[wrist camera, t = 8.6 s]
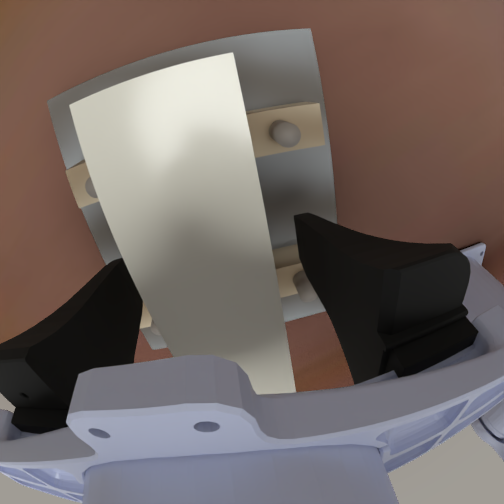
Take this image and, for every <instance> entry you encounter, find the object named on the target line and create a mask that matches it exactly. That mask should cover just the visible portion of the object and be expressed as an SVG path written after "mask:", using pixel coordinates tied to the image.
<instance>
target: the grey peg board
mask: <svg viewBox="0 0 504 504" xmlns="http://www.w3.org/2000/svg"><path fill="white" fill-rule="evenodd" d="M232 52H233V55H234V59H235V64H236V68H237V73H238V78H239V83H240V87H241V92H242V97H243V102H244V107H245V111H246V116H247V121H248V126H249V131H250V136H251V141H252V146H253V151H254V156H255V161H256V166H257V172H258V177H259V182H260V187H261V192H262V198H263V203H264V208H265V214H266V219H267V224H268V230H269V235H270V241H271V246H272V252H273V258H274V263H275V269H276V275H277V280H278V286H279V292H280V298H281V304H282V309H283V315H284V321H285V322H286V321H290V320H294V319H298V318H302V317H305V316H309V315H313V314H316V313H320V312H324V311H326V310H325V308H324V306H323V304H322V303H321V301H320V299H319V297H318V296H317V294H316V292H315V290H314V289H313V287H312V285H311V283H310V282H309V280H308V278H307V276H306V274H305V271H304V269H303V266H302V264H301V261H300V259H299V253H298V245H297V238H296V230H295V223H294V215H298V214H303V213H307V212H308V213H312V214H314V215H317V216H319V217H321V218H324V219H326V220H328V221H331V222H333V223H335V224H337V215H336V201H335V189H334V178H333V168H332V158H331V149H330V141H329V133H328V125H327V118H326V111H325V104H324V98H323V91H322V85H321V80H320V74H319V68H318V63H317V58H316V53H315V48H314V43H313V38H312V33H311V29H292V30H280V31H270V32H261V33H253V34H246V35H240V36H234V37H228V38H223V39H218V40H213V41H208V42H203V43H199V44H195V45H190V46H186V47H183V48H179V49H175V50H171V51H168V52H164V53H161V54H158V55H155V56H151V57H148V58H145V59H142V60H139V61H136V62H133V63H131V64H128V65H125V66H122V67H120V68H117V69H115V70H112V71H110V72H107V73H105V74H102V75H100V76H97V77H95V78H93V79H91V80H88V81H86V82H84V83H82V84H80V85H77V86H75V87H73V88H71V89H69V90H67V91H65V92H63V93H61V94H59V95H57V96H55V97H54V98H52V99H50V100H48V101H47V103H48V107H49V111H50V115H51V119H52V123H53V126H54V130H55V133H56V137H57V140H58V144H59V147H60V150H61V153H62V156H63V160H64V163H65V166H66V169H67V170H66V171H65V172H66V175H67V178H68V180H69V183H70V186H71V189H72V191H73V194H74V197H75V199H76V202H77V204H78V207H79V208H81V209H82V212H83V214H84V216H85V219H86V221H87V224H88V226H89V228H90V231H91V233H92V235H93V238H94V240H95V242H96V244H97V246H98V249H99V251H100V253H101V255H102V257H103V259H104V261H105V264H106V265H107V264H108V263H110V262H111V261H113V260H116V259H119V258H122V255H121V253H120V251H119V248H118V246H117V244H116V242H115V239H114V237H113V234H112V232H111V230H110V227H109V225H108V222H107V220H106V217H105V215H104V212H103V210H102V207H101V204H100V202H99V199H98V196H97V194H96V191H95V188H94V185H93V182H92V180H91V177H90V174H89V171H88V168H87V165H86V162H85V159H84V155H83V152H82V149H81V146H80V142H79V139H78V136H77V132H76V129H75V125H74V121H73V118H72V114H71V110H70V106H69V105H70V104H72V103H74V102H77V101H79V100H81V99H83V98H85V97H88V96H90V95H92V94H95V93H97V92H99V91H102V90H104V89H107V88H109V87H112V86H114V85H117V84H120V83H122V82H125V81H128V80H130V79H133V78H136V77H139V76H142V75H145V74H148V73H151V72H155V71H158V70H161V69H164V68H168V67H171V66H175V65H179V64H182V63H186V62H190V61H194V60H199V59H203V58H207V57H212V56H217V55H222V54H227V53H232ZM140 329H141V331H142V333H143V334H144V336H145V338H146V339H147V341H148V343H149V344H150V346H151V348H152V349H153V350H154V349H160V348H166V347H168V346H167V345H166V343H165V341H164V339H163V338H162V336H161V334H160V332H159V330H158V328H157V327H156V325H155V323H154V321H153V319H152V317H151V315H150V313H149V311H148V310H147V308H146V306H145V304H144V302H143V310H142V318H141V323H140Z"/></svg>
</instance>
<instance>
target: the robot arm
mask: <svg viewBox="0 0 504 504" xmlns="http://www.w3.org/2000/svg"><path fill="white" fill-rule="evenodd" d="M294 223H295V230H296V238H297V245H298V253H299V259H300V261H301V264H302V266H303V269H304V271H305V274H306V276H307V278H308V280H309V282H310V283H311V285H312V287H313V289H314V290H315V292H316V294H317V296H318V297H319V299H320V301H321V303H322V304H323V306H324V308H325V310H326V311H327V313H328V315H329V317H330V319H331V321H332V324H333V326H334V328H335V331H336V333H337V336H338V338H339V341H340V344H341V346H342V349H343V352H344V354H345V357H346V360H347V363H348V366H349V369H350V372H351V375H352V378H353V381H354V384H355V385H353V386H349V387H342V388H334V389H325V390H316V391H306V392H294V393H279V394H258V395H257V394H256V393H255V391H254V390H253V387H252V385H251V382H250V379H249V377H248V375H247V374H246V373H245V371H244V370H243V369H242V368H241V367H240V366H239V365H238V364H237V363H236V362H233V361H230V360H227V359H224V358H221V357H218V356H215V355H184V356H179V357H173V358H167V359H161V360H154V361H148V362H141V363H134V355H135V350H136V344H137V339H138V334H139V329H140V323H141V318H142V310H143V300H142V298H141V296H140V294H139V292H138V290H137V288H136V286H135V283H134V281H133V279H132V277H131V275H130V273H129V271H128V269H127V266H126V264H125V262H124V260H123V258H119V259H116V260H113V261H111V262H110V263H108V264H107V265H106V266H105V267H104V268H103V269H101V270H100V271H99V272H98V273H97V274H96V275H95V276H94V277H93V278H92V279H91V280H90V281H89V282H88V283H87V284H86V285H85V286H84V287H82V288H81V289H80V290H79V291H78V292H77V293H76V294H75V295H74V296H73V297H72V298H71V299H69V300H68V301H67V302H66V303H65V304H64V305H62V306H61V307H60V308H59V309H57V310H56V311H55V312H54V313H52V314H51V315H50V316H48V317H47V318H45V319H44V320H42V321H41V322H39V323H38V324H37V325H35V326H33V327H32V328H30V329H28V330H27V331H25V332H23V333H21V334H20V335H18V336H16V337H14V338H12V339H10V340H8V341H6V342H3V343H1V344H0V393H1V394H2V395H3V396H4V397H5V398H6V399H7V400H8V401H9V402H11V403H12V404H13V405H14V406H15V407H16V408H15V411H14V413H12V412H10V411H8V410H2V409H0V472H1V473H3V474H4V475H6V476H7V477H9V478H11V479H12V480H14V481H16V482H18V483H19V484H21V485H23V486H26V487H29V488H33V489H35V490H39V491H42V492H45V493H48V494H51V495H55V496H58V497H61V498H64V499H68V500H72V501H75V502H79V503H82V504H399V502H398V500H397V497H396V494H395V492H394V489H393V487H392V484H391V482H390V479H389V476H388V474H387V473H389V472H391V471H393V470H395V469H397V468H399V467H401V466H403V465H405V464H407V463H409V462H411V461H413V460H414V459H416V458H418V457H420V456H422V455H423V454H425V453H427V452H429V451H430V450H432V449H433V448H435V447H437V446H438V445H440V444H442V443H443V442H445V441H446V440H448V439H449V438H451V437H452V436H454V435H455V434H457V433H458V432H460V431H461V430H463V429H464V428H466V427H467V426H468V425H470V424H471V426H472V427H473V429H474V431H475V432H476V434H477V435H478V436H479V437H480V438H481V439H482V440H483V441H484V442H486V443H488V444H489V445H490V446H491V447H492V448H493V449H494V450H495V451H496V452H497V453H498V455H499V456H500V457H501V458H502V459H503V461H504V286H503V285H502V284H501V283H500V282H499V281H498V280H497V279H496V278H495V277H493V276H492V275H491V274H490V273H489V272H488V271H487V270H486V269H485V268H484V267H482V266H481V265H482V261H483V257H484V253H485V249H486V245H485V244H484V243H479V244H476V245H474V246H471V247H468V248H466V249H463V250H460V251H459V250H458V249H457V248H456V247H455V246H454V245H452V244H451V243H447V244H423V243H409V242H400V241H394V240H388V239H383V238H378V237H374V236H370V235H367V234H363V233H360V232H357V231H354V230H351V229H348V228H345V227H343V226H340V225H338V224H335V223H333V222H331V221H328V220H326V219H324V218H321V217H319V216H317V215H314V214H312V213H308V212H307V213H303V214H298V215H294Z"/></svg>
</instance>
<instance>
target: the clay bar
mask: <svg viewBox="0 0 504 504" xmlns="http://www.w3.org/2000/svg"><path fill="white" fill-rule="evenodd" d="M69 106H70V110H71V114H72V118H73V121H74V125H75V129H76V132H77V136H78V139H79V142H80V146H81V149H82V152H83V155H84V159H85V162H86V165H87V168H88V171H89V174H90V177H91V180H92V182H93V185H94V188H95V191H96V194H97V196H98V199H99V202H100V204H101V207H102V210H103V212H104V215H105V217H106V220H107V222H108V225H109V227H110V230H111V232H112V234H113V237H114V239H115V242H116V244H117V246H118V248H119V251H120V253H121V255H122V258H123V260H124V262H125V264H126V266H127V269H128V271H129V273H130V275H131V277H132V279H133V281H134V283H135V286H136V288H137V290H138V292H139V294H140V296H141V298H142V300H143V302H144V304H145V306H146V308H147V310H148V311H149V313H150V315H151V317H152V319H153V321H154V323H155V325H156V327H157V328H158V330H159V332H160V334H161V336H162V338H163V339H164V341H165V343H166V345H167V346H168V348H169V350H170V352H171V353H172V355H173V357H179V356H184V355H215V356H218V357H221V358H224V359H227V360H230V361H233V362H236V363H237V364H238V365H239V366H240V367H241V368H242V369H243V370H244V371H245V373H246V374H247V375H248V377H249V379H250V382H251V385H252V387H253V390H254V391H255V393H256V394H257V395H258V394H279V393H294V392H296V390H295V383H294V377H293V371H292V364H291V358H290V352H289V346H288V339H287V333H286V327H285V321H284V315H283V309H282V304H281V298H280V292H279V286H278V280H277V275H276V269H275V263H274V258H273V252H272V246H271V241H270V235H269V230H268V224H267V219H266V214H265V208H264V203H263V198H262V192H261V187H260V182H259V177H258V172H257V166H256V161H255V156H254V151H253V146H252V141H251V136H250V131H249V126H248V121H247V116H246V111H245V107H244V102H243V97H242V92H241V87H240V83H239V78H238V73H237V68H236V64H235V59H234V55H233V52H232V53H227V54H222V55H217V56H212V57H207V58H203V59H199V60H194V61H190V62H186V63H182V64H179V65H175V66H171V67H168V68H164V69H161V70H158V71H155V72H151V73H148V74H145V75H142V76H139V77H136V78H133V79H130V80H128V81H125V82H122V83H120V84H117V85H114V86H112V87H109V88H107V89H104V90H102V91H99V92H97V93H95V94H92V95H90V96H88V97H85V98H83V99H81V100H79V101H77V102H74V103H72V104H70V105H69Z"/></svg>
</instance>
